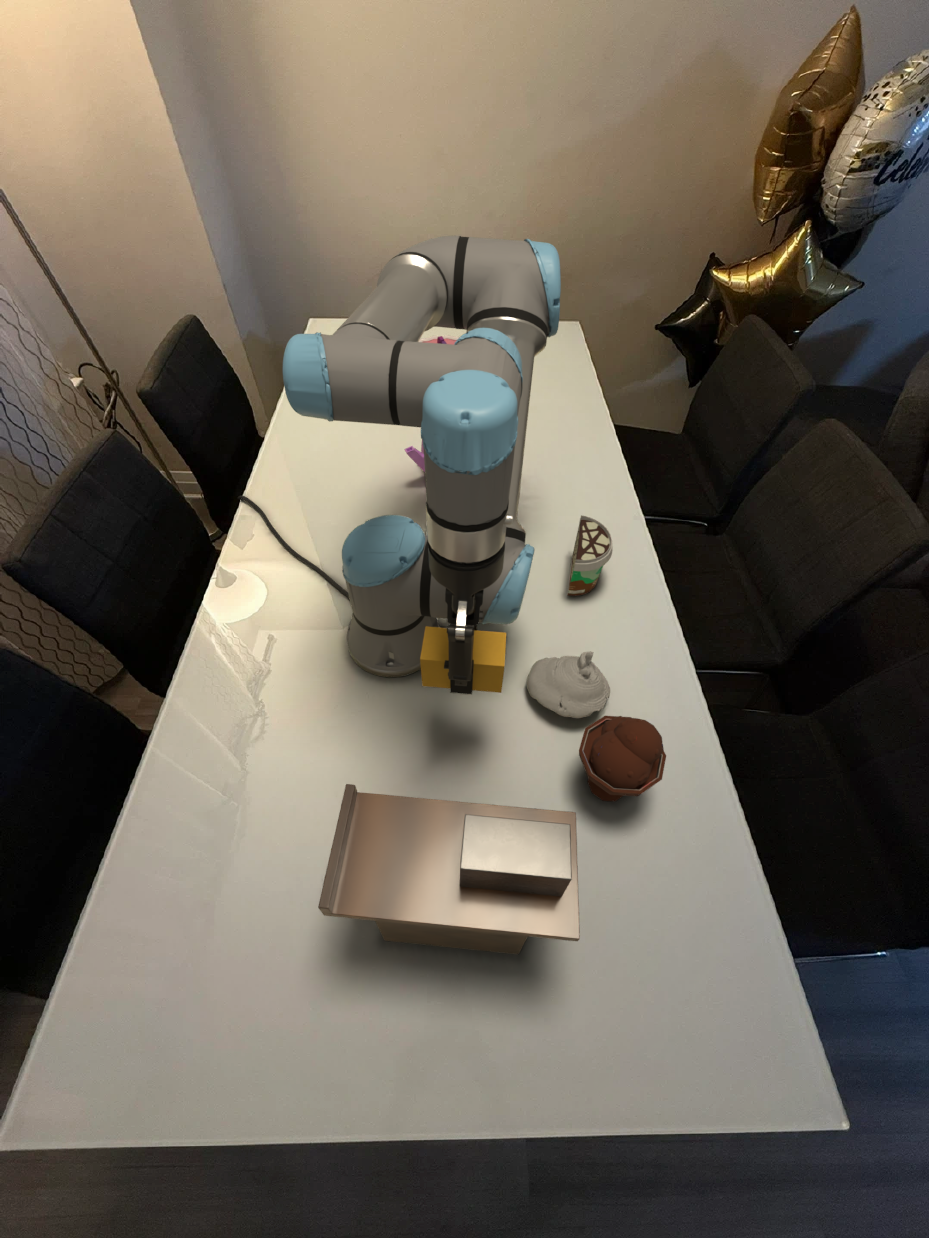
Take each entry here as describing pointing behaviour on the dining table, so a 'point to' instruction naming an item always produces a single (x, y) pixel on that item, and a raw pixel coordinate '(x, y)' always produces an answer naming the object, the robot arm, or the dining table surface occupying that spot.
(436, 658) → the mustard back pad
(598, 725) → the ice cream bowl
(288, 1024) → the dining table surface
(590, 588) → the food container
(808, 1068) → the dining table surface
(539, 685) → the grey clay mound
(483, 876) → the serving tray
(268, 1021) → the dining table surface
